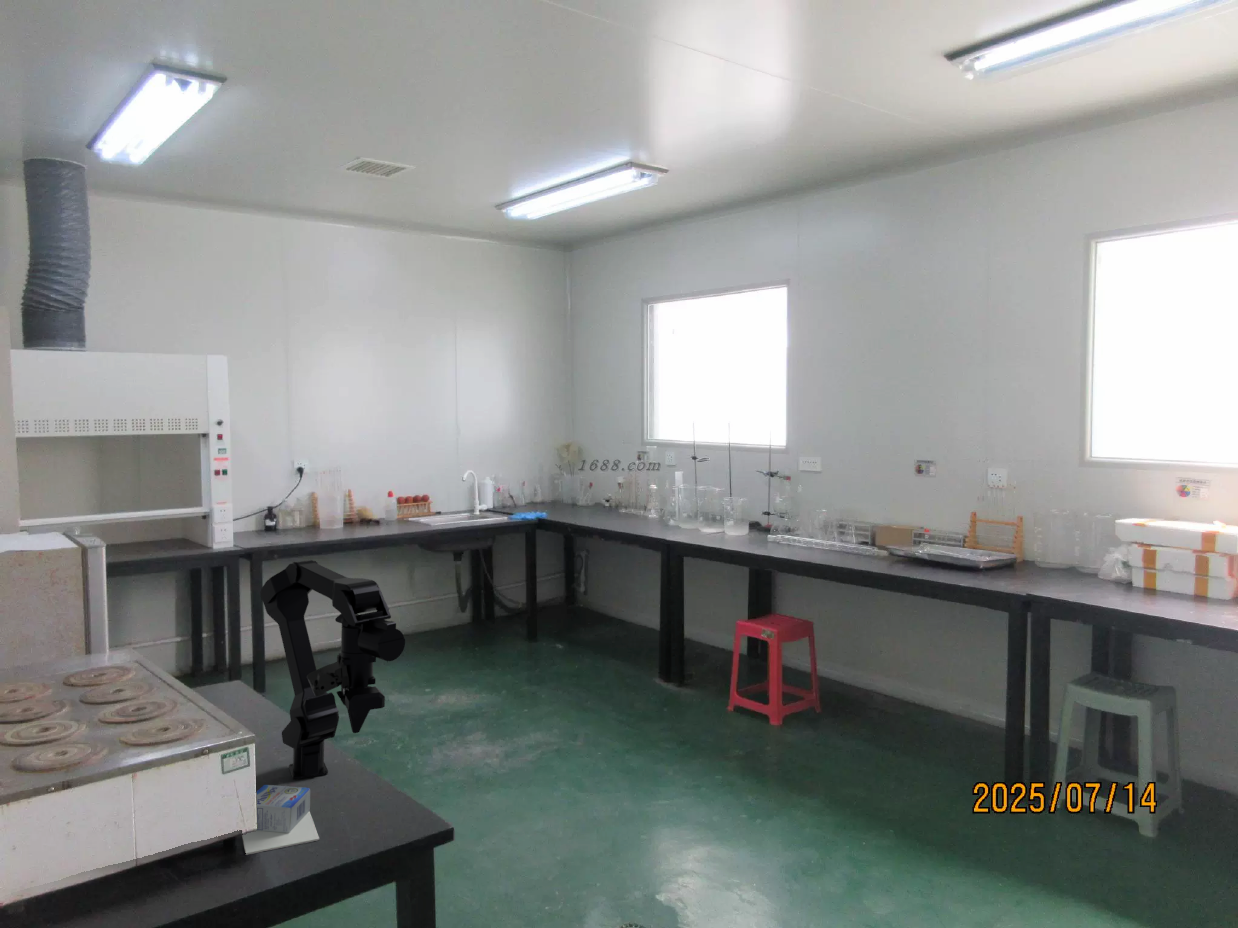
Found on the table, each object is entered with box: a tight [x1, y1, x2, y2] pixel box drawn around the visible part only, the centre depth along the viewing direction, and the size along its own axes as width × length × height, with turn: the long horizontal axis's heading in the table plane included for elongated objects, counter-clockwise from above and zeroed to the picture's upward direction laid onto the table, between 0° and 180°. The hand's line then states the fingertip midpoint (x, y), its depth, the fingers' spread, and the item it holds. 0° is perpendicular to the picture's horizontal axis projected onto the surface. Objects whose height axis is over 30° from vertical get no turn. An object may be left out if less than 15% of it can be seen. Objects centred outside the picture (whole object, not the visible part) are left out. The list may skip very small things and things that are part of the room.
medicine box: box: [256, 784, 311, 833], centre depth 143 cm, size 8×4×9 cm
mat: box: [241, 811, 320, 856], centre depth 141 cm, size 12×11×1 cm
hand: (355, 732), depth 154 cm, fingers closed
